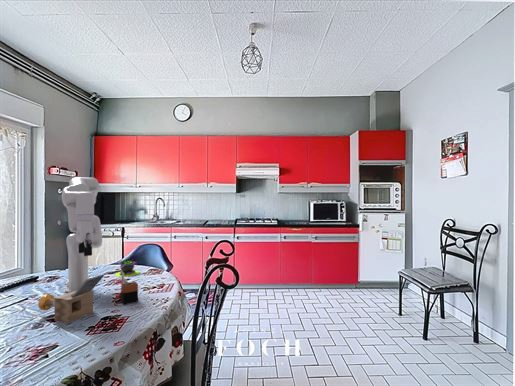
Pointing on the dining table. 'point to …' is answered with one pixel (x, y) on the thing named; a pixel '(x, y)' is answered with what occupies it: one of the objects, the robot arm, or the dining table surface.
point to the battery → (129, 292)
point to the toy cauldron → (127, 269)
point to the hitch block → (73, 306)
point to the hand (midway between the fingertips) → (85, 254)
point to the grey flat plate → (87, 286)
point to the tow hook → (121, 286)
